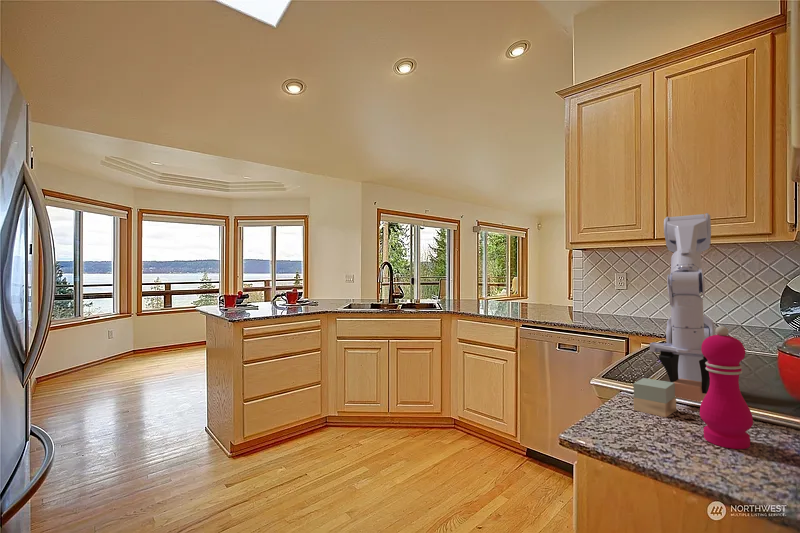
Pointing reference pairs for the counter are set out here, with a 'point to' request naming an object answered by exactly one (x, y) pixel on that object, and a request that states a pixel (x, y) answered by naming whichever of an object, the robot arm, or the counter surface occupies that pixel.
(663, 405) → the base block
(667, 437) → the counter surface
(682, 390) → the terracotta block
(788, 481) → the counter surface
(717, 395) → the pepper mill
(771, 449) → the counter surface
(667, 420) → the counter surface
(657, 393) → the middle block
